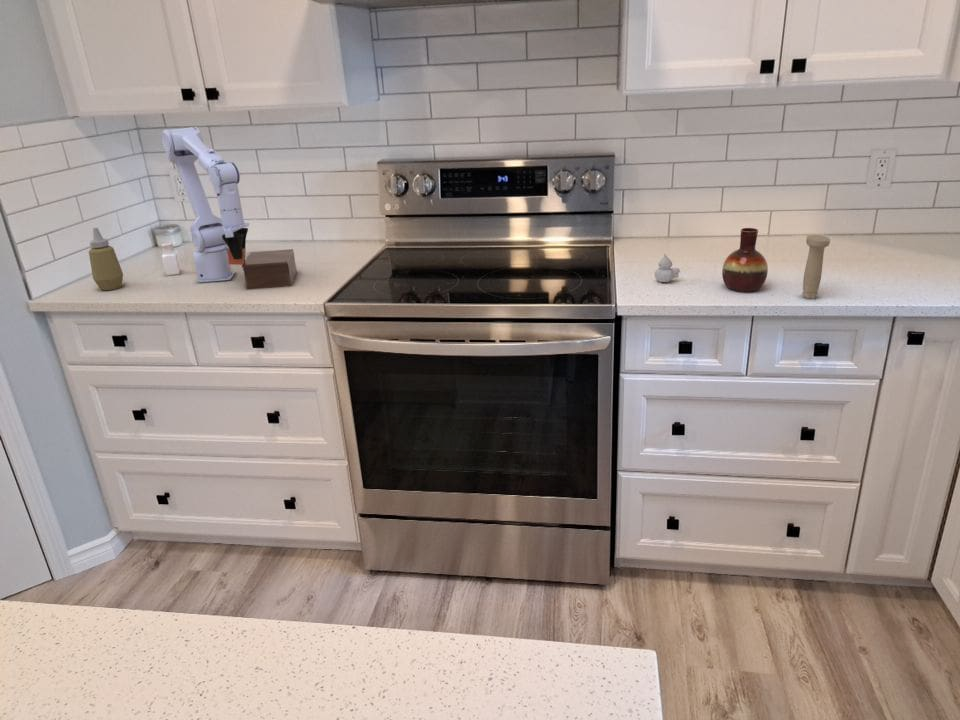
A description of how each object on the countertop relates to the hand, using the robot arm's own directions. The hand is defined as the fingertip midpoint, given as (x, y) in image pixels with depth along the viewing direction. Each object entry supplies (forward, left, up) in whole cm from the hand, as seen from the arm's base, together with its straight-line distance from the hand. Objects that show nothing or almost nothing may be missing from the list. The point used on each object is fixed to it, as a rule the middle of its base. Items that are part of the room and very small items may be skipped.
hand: (239, 256), depth 196 cm
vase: (+134, -34, -10) cm, 138 cm away
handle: (+146, -45, -10) cm, 153 cm away
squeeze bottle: (-41, +12, -10) cm, 44 cm away
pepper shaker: (-26, +23, -10) cm, 36 cm away
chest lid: (+7, +6, -3) cm, 9 cm away
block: (-1, 0, -2) cm, 2 cm away
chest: (+7, +6, -10) cm, 13 cm away
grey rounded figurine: (+117, -24, -10) cm, 120 cm away
